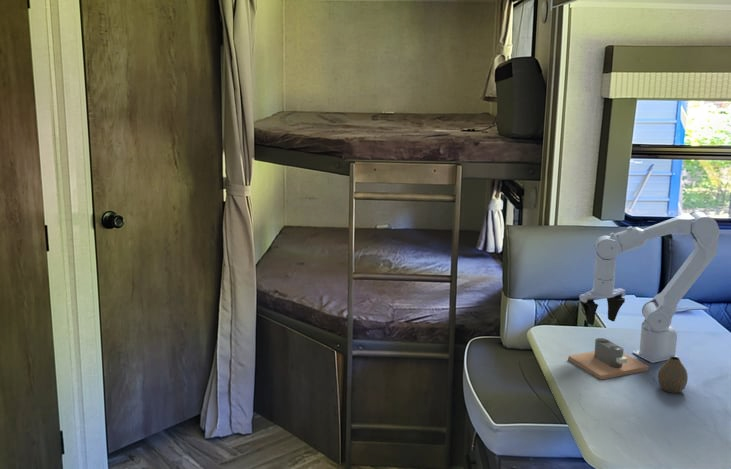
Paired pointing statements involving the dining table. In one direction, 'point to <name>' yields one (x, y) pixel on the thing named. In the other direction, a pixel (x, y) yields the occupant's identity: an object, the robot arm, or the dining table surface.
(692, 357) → the dining table surface
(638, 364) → the mat
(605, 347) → the plug
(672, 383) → the vase
